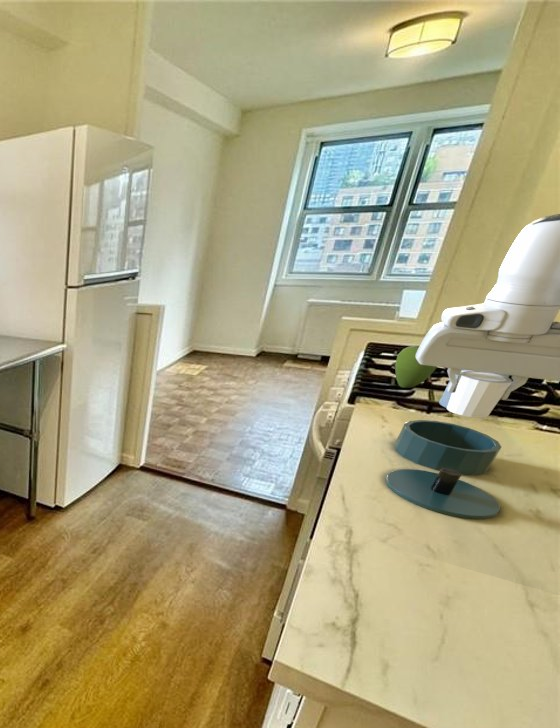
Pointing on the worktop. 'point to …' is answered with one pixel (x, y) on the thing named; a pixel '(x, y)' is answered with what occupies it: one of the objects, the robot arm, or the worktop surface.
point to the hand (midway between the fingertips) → (475, 395)
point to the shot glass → (477, 393)
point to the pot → (447, 446)
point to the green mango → (411, 368)
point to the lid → (443, 493)
